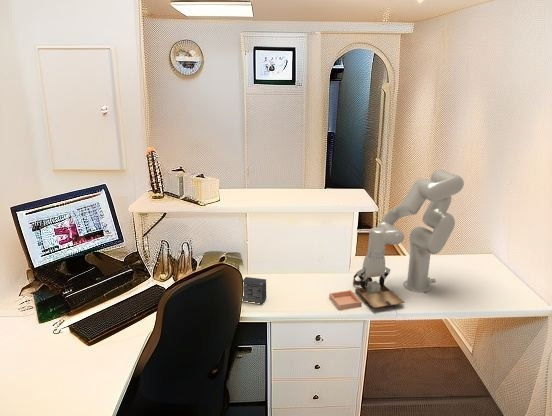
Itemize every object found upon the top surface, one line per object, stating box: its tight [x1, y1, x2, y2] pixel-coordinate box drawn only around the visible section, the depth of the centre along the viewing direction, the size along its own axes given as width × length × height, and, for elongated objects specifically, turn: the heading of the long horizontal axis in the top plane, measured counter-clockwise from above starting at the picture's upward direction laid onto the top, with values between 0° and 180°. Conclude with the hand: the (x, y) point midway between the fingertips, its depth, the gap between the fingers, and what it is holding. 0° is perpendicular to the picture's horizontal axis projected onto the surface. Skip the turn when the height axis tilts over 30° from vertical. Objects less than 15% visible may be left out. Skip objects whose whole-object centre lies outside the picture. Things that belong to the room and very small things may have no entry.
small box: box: [242, 276, 268, 305], centre depth 201 cm, size 11×6×10 cm, turn 74°
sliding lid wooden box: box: [354, 284, 405, 309], centre depth 200 cm, size 16×19×4 cm
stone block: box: [366, 280, 381, 294], centre depth 205 cm, size 4×4×6 cm
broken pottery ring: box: [352, 272, 373, 287], centre depth 216 cm, size 12×10×8 cm
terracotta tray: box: [328, 289, 363, 311], centre depth 199 cm, size 11×11×3 cm
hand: (372, 286), depth 204 cm, fingers open, 9 cm apart
